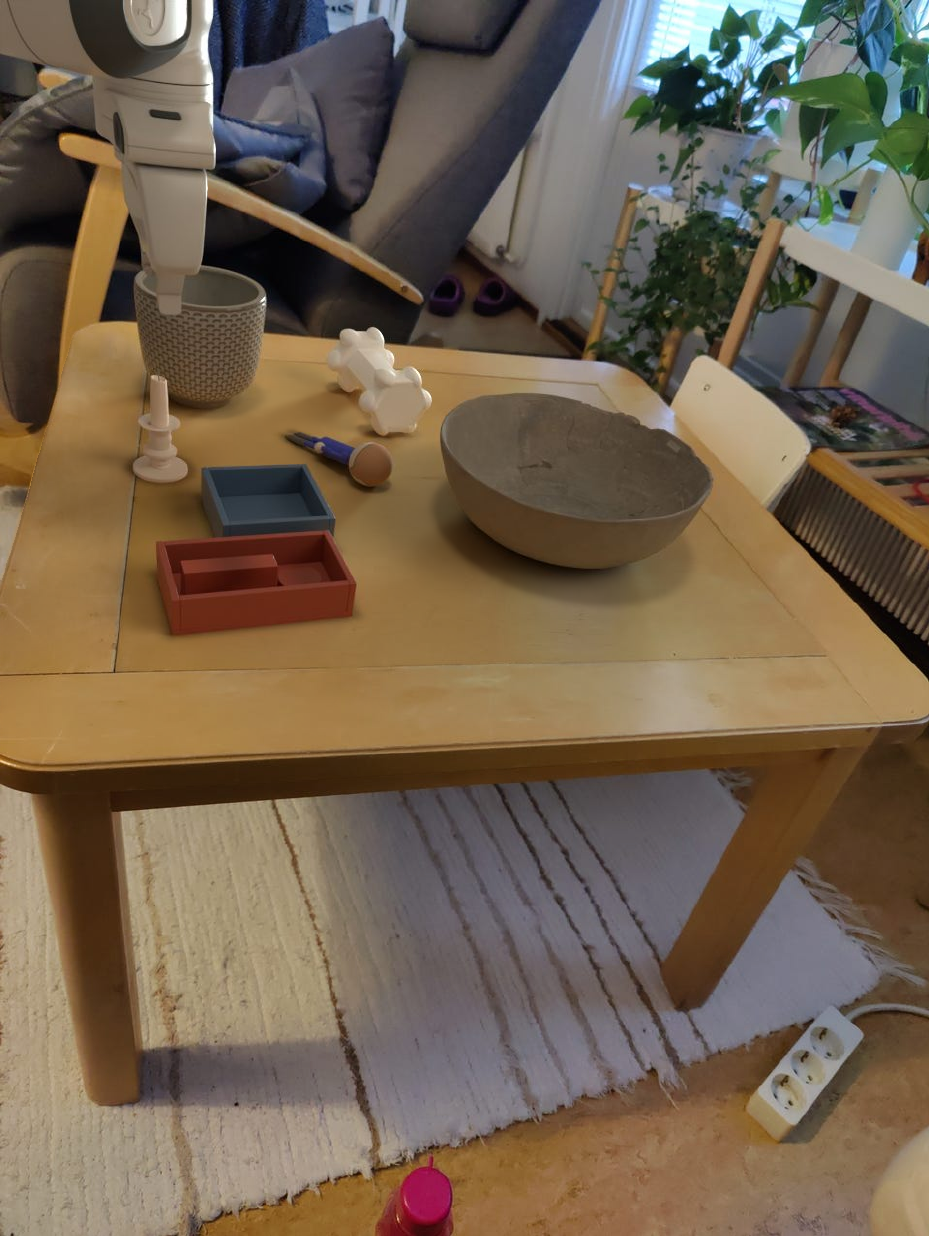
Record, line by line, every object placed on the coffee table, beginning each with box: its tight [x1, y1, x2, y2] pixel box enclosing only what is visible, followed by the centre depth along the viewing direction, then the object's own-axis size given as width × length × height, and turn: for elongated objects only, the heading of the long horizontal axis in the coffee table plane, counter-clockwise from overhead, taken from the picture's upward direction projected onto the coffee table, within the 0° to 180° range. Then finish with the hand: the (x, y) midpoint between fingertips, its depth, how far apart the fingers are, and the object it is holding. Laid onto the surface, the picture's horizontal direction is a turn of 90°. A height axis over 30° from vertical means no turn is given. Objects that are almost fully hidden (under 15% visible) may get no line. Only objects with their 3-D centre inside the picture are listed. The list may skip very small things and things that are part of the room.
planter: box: [133, 264, 268, 410], centre depth 98 cm, size 14×14×13 cm
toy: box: [284, 431, 394, 487], centre depth 95 cm, size 5×5×15 cm
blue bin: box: [200, 463, 337, 539], centre depth 82 cm, size 10×10×4 cm
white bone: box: [325, 326, 433, 437], centre depth 105 cm, size 15×9×8 cm, turn 26°
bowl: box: [439, 392, 714, 570], centre depth 90 cm, size 28×28×10 cm
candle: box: [132, 373, 188, 484], centre depth 84 cm, size 5×5×10 cm
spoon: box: [180, 554, 322, 595], centre depth 73 cm, size 12×4×3 cm, turn 113°
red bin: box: [155, 530, 357, 637], centre depth 73 cm, size 15×8×4 cm, turn 114°
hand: (160, 291), depth 77 cm, fingers open, 8 cm apart
